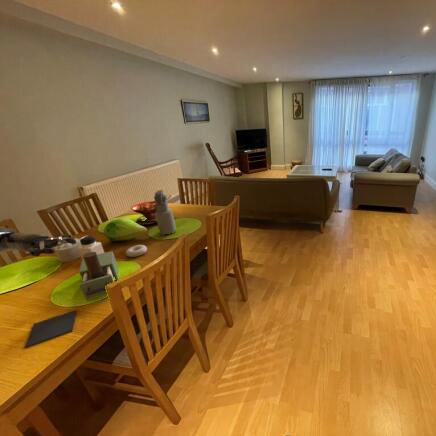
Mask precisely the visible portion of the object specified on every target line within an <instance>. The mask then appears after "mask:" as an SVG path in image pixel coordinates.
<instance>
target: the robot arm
mask: <svg viewBox="0 0 436 436" xmlns="http://www.w3.org/2000/svg"><path fill="white" fill-rule="evenodd" d="M72 236H73V235H72V234H63V233H62V234H61V233H60V234H58V235H57V237H50V236H48V235H46V234H39V233H22V232H17V231H16V230H15V229H14V228H10V227H0V253H4V252H10V251H13V250H14V251H15V250H16V251H23V252H25V254H26V256H31V257H39V256H41V255H54V254H56V252H55V250H54V247H55V246H60V245H63V244H65V243H70V244H75V243H76V240H75V239H73V238H74V237H72ZM63 241H65V242H63ZM58 243H59V244H58Z"/></svg>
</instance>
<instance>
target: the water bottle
mask: <svg viewBox="0 0 436 436" xmlns="http://www.w3.org/2000/svg"><path fill="white" fill-rule="evenodd" d="M167 198H168V197H167V194H164V190H163V189H159V190H156V191H155V193H154V197H153V199H154V201H155V202H156V205H155V210H156V213H155V215H156V219H157V222H156V223H157V227H158V231H159V234H160V235H162V236H166V235H165V234H169V233H172V232H174V231H175V230H176V231H177V228H176V223H175V219H174V218H175V217H174V214H173V210H172V209H171V208H170V207H169V204H168V200H167ZM156 206H157V209H156ZM176 231H175V232H176ZM175 232H174V233H175ZM172 234H173V233H172ZM169 235H170V234H169Z"/></svg>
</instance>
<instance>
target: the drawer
mask: <svg viewBox="0 0 436 436" xmlns="http://www.w3.org/2000/svg"><path fill="white" fill-rule="evenodd" d="M102 270H103V273H104V276H103V277H100V278H96V279H93V280H92V279H91V277H90V274H89V272H84V277H83V280H82V282H79V287H80V289H81V292H82V294H83V297H84V298H85V301H87V300H92V299H94V298H97V297H101V296H104V295H108V293H106V289H105V286H106V285H107V284H109V283H112V282H114V274H113V271H112V268H111V265H110V266H107V267H103V268H102ZM114 283H115V282H114Z"/></svg>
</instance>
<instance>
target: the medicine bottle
mask: <svg viewBox="0 0 436 436" xmlns="http://www.w3.org/2000/svg"><path fill="white" fill-rule="evenodd" d="M79 239H80V242H81V245H82V246H81V247H79V248H78V250H79V253H80V255H81V256H80V258H81V259H82V258H83V255H84V254H86V253H89V252H96V254H97V255H98V254H102V253H105V250H104V247H103V245H102V242H99V241H96V238H95V236H94V235H84V236H83V237H80V238H79Z"/></svg>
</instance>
